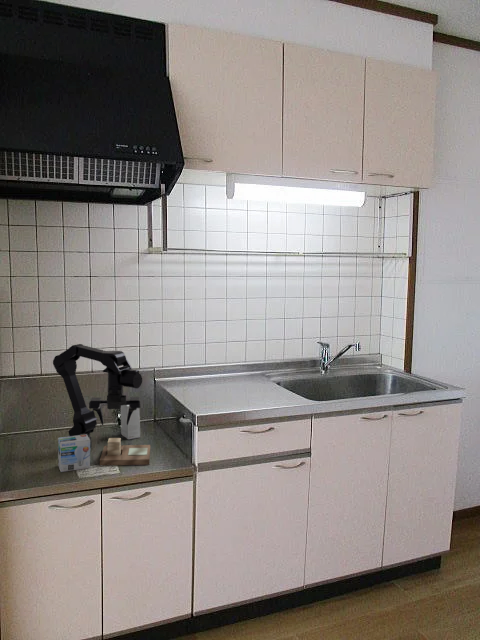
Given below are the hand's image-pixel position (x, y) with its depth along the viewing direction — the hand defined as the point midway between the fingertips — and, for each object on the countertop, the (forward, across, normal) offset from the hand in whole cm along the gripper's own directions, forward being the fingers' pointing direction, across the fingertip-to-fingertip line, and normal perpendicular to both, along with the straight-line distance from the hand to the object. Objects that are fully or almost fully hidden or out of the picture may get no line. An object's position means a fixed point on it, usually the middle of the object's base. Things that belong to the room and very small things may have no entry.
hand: (115, 424), depth 199 cm
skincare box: (+13, +5, +24) cm, 28 cm away
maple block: (+13, 0, 0) cm, 13 cm away
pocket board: (+13, +4, 0) cm, 14 cm away
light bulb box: (+13, -14, -8) cm, 21 cm away
